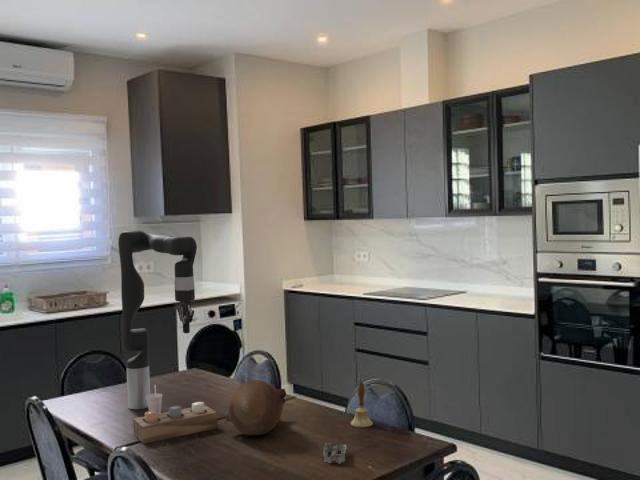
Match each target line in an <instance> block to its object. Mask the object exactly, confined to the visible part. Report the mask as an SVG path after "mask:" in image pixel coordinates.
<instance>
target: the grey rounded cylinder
mask: <svg viewBox="0 0 640 480" xmlns="http://www.w3.org/2000/svg"><path fill="white" fill-rule="evenodd" d="M182 409H183V408H182V406H179V405H175V406H170V407H169V408H168V412H169V418H176V417H181V416H182Z"/></svg>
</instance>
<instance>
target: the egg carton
mask: <svg viewBox="0 0 640 480" xmlns="http://www.w3.org/2000/svg"><path fill="white" fill-rule="evenodd" d="M329 451H332V452H329ZM338 451H341V452H340V453H339V452H338ZM346 451H347V444H340V445H338V444H335V446H333V444H332V443H329V442H327V441H325V442H324V447H323V452H322V453H323V458H324V463H326V462H328V463H331V462H333V461H336V462H335V463H337V462H338V463H337V464H342V463H344V462H343V461H345V462H346ZM328 452H329V453H331V454H329V453H328ZM341 462H342V463H341ZM328 463H327V464H328ZM333 463H334V462H333ZM331 464H332V463H331Z"/></svg>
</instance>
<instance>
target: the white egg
mask: <svg viewBox="0 0 640 480" xmlns="http://www.w3.org/2000/svg"><path fill="white" fill-rule="evenodd" d="M204 405H205V402H203V401H196V402H193V403H191V407H192V413H193V414H196V413H202V412H205V410H204Z"/></svg>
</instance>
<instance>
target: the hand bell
mask: <svg viewBox="0 0 640 480" xmlns="http://www.w3.org/2000/svg"><path fill="white" fill-rule="evenodd" d="M365 392H366V391H365V384H364V382H363V381H359V383H358V387H357V394H358V395H357V396H358V399H359V402H358V405H359V406H358V407H357V408H356V409H355V413H354V418H353V420H351V421H350V425H351V426H353V427H355V428H369V427H371V426H373V421H372V420H371V419H370V417H369V416H370V415H369V413H368V409H367V408H365V405H364V403H365V402H364V396H365V394H366V393H365Z"/></svg>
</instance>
